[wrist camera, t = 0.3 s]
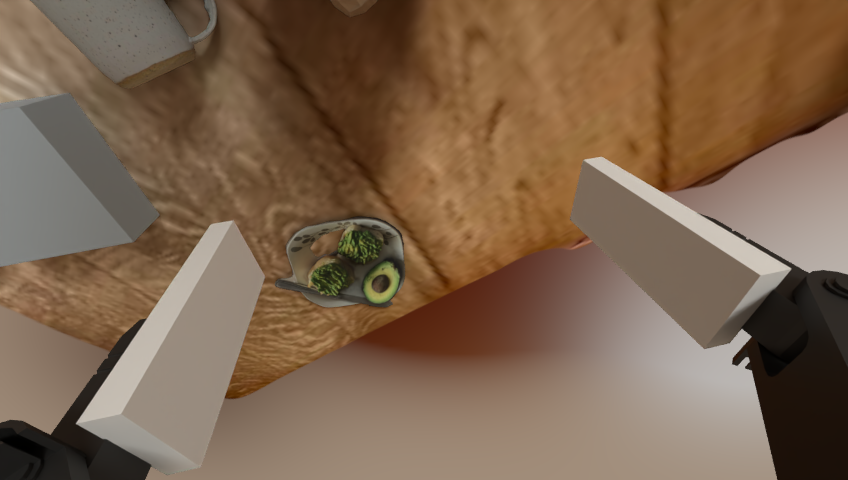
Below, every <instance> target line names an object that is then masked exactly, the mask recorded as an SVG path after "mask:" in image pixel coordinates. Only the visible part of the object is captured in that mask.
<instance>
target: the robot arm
mask: <svg viewBox="0 0 848 480" xmlns="http://www.w3.org/2000/svg"><path fill="white" fill-rule="evenodd" d="M570 220H571V221H572V222H573V223H574V224H575V225H576V226H577V227H578V228H579V229H580V230H582V231H583V232H584V233H585V234H586V235H587V236H588V237H589V238H590V239H591V240H592V241H593V242H594V243H595V244H596V245H597V246H598V247H599V248H600V249H601V250H602V251H603V252H604V253H605V254H606V255H607V256H608V257H609V258H611V259H612V260H613V261H614V262H615V263H616V264H617V265H618V266H619V267H620V268H621V269H622V270H623V271H624V272H625V273H626V274H627V275H628V276H629V277H630V278H631V279H632V280H633V281H634V282H635V283H636V284H637V285H639V287H641V288H642V289H643V290H644V291H645V292H646V293H647V294H648V295H649V296H650V297H651V298H652V299H653V300H654V301H655V302H656V303H657V304H658V305H659V306H660V307H661V308H662V309H663V310H664V311H665V312H667V313H668V315H670V316H671V317H672V318H673V319H674V320H675V321H676V322H677V323H678V324H679V325H680V326H681V327H682V328H683V329H684V330H685V331H686V332H687V333H688V334H689V335H690V336H691V337H692V338H694V340H696V342H697V343H699V344H700V345H701V346H702V347H703V348H704V349H706V348H711V347H715V346H719V345H724V344H727V343H730V342H731V341H732V340H733V338H734V337H735V336H736V335H737V334H738V332H739V331H740V330H741V329H743V330H744V331H746V332H747V333H748V334H750V335H751V336H752V337H751V338H750V340H749V341H748V342H747V343H746V344H745V345H744V346H743V347H742V348H741V350H740V351H739V352H738V353H737V354H736V355H735V356H734V357H733V361H732V364H733V365H736V366H737V365H739V364H740V363H741V361H742V360H743V359H744V358H745V357H749V360H750V362H749V363H748V364H747V366H746V367H745V368H746V369H749V370H752V373H753V377H754V381H755V386H756V390H757V394H758V399H759V402H760V407H761V411H762V415H763V420H764V424H765V429H766V433H767V437H768V441H769V445H770V450H771V454H772V458H773V463H774V467H775V471H776V476H777V480H848V275H847V274H843V273H839V272H833V271H825V270H821V271H812V272H811V273H808V272H806V271H804V270H802V269H800V268H799V267H797V266H795V265H794V264H792V263H790V262H788V261H786V260H785V259H783V258H781V257H779V256H778V255H776V254H774V253H773V252H771V251H769V250H767V249H766V248H764V247H762V246H761V245H759V244H757V243H755V242H753V241H752V240H750V239H749V240H747V239H746V237H745V236H743V235H741V234H740V233H738V232H736V231H732V229H731V228H729V227H727V226H726V225H724V224H722V223H721V222H719V221H717V220H715V219H713V218H710V217H708V216H704V215H702V214H699V213H696V212H695V211H693V210H691V209H689V208H688V207H686V206H684V205H683V204H681V203H679V202H677V201H676V200H674V199H672V198H671V197H669V196H667V195H666V194H664V193H662V192H661V191H659V190H657V189H655V188H654V187H652V186H650V185H649V184H647V183H645V182H644V181H642V180H640V179H638V178H637V177H635V176H633V175H632V174H630V173H628V172H627V171H625V170H623V169H621V168H620V167H618V166H616V165H615V164H613V163H611V162H610V161H608V160H606V159H604V158H603V157H598V158H592V159H586V160H583V163H582V168H581V172H580V177H579V181H578V185H577V190H576V194H575V199H574V203H573V208H572V212H571V217H570ZM264 279H265V276H264V274H263V272H262V270H261V268H260V267H259V265H258V263H257V261H256V260H255V258H254V256H253V254H252V252H251V251H250V249H249V247H248V245H247V244H246V242H245V240H244V238H243V236H242V235H241V233H240V231H239V229H238V227H237V226H236V224H235V222H234V220H232V221H227V222H221V223H215V224H211V225H210V226H209V228H208V229H207V231H206V232H205V234H204V235H203V237H202V238H201V240H200V241H199V243H198V244H197V245H196V247H195V248H194V250H193V251H192V253H191V254H190V256H189V257H188V259H187V260H186V262H185V263H184V265H183V266H182V268H181V269H180V271H179V272H178V274H177V275H176V277H175V278H174V279H173V281H172V282H171V284H170V285H169V287H168V288H167V290H166V291H165V293H164V294H163V296H162V297H161V299H160V300H159V302H158V303H157V305H156V306H155V308H154V309H153V311H152V312H151V313H150V315H149V316H148V318H147V319H142V320H139V321H138V322H137V323H136V324H135V325H134V326H133V327H132V328H130V329H129V330H128V331H127V332H126V333H125V334H124V335H123V336H122V337H121V338H120V339H119V340H118V342H117V343H116V345H115V346H114V347H113V349H112V350H111V352H110V353H109V354H108V359H105V360H104V361H103V363H102V364H101V366H100V367H99V368H98V370H97V374H96V375H93V377H92V378H91V379H90V381H89V382H88V384H87V385H86V387H85V388H84V389H83V391H82V392H81V393H80V395H79V396H78V398H77V399H76V400H75V402H74V403H73V405H72V406H71V407H70V409H69V410H68V411H67V413H66V414H65V416H64V417H63V418H62V420H61V421H60V423H59V424H58V425H57V427H56V428H55V429H54V431H53V432H52V434H51V435H49V434H47V433H45V432H43V431H41V430H39V429H37V428H35V427H33V426H31V425H30V424H28V423H26V422H23V421H18V420H9V421H6V422H2V423H0V480H145V479H146V476H147V474H148V472H149V470H150V467H153V468H155V469H157V470H159V471H160V472H162V473H164V474H166V475H170V474H174V473H178V472H182V471H186V470H191V469H195V468H199V467H201V465H202V462H203V459H204V456H205V453H206V450H207V447H208V445H209V441H210V439H211V436H212V433H213V430H214V427H215V424H216V421H217V418H218V415H219V412H220V409H221V406H222V403H223V400H224V397H225V394H226V391H227V388H228V385H229V382H230V379H231V377H232V374H233V371H234V368H235V365H236V362H237V359H238V356H239V353H240V350H241V347H242V344H243V341H244V338H245V335H246V332H247V329H248V326H249V323H250V320H251V317H252V314H253V311H254V308H255V305H256V303H257V300H258V297H259V294H260V291H261V288H262V285H263V282H264Z"/></svg>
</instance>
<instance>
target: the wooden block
mask: <svg viewBox="0 0 848 480" xmlns="http://www.w3.org/2000/svg"><path fill="white" fill-rule="evenodd" d="M330 1H331V2H332V4H333V5H334V7H336V8H337V9H339V10H340V11H341V12H343V13H344V14H346V15H347V16H349V17H352V16H356V15H359V14H363V13H365V12H366V11H367V10H368V9H369V8H371V7H372V6H373V5H374V4H375V3H376V2H377V1H378V0H330Z"/></svg>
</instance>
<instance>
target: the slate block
mask: <svg viewBox="0 0 848 480" xmlns="http://www.w3.org/2000/svg"><path fill="white" fill-rule="evenodd" d="M158 217H159V213H158V212H157V211H156V209H155V208H154V206H153V205H152V204H151V202H150V201H149V200H148V198H147V197H146V196H145V194H144V193H143V192H142V190H141V189H140V188H139V186H138V185H137V183H136V182H135V181H134V179H133V178H132V177H131V175H130V174H129V173H128V171H127V170H126V169H125V167H124V166H123V165H122V163H121V162H120V160H119V159H118V158H117V156H116V155H115V154H114V152H113V151H112V150H111V148H110V147H109V146H108V144H107V143H106V142H105V140H104V139H103V137H102V136H101V135H100V133H99V132H98V131H97V129H96V128H95V127H94V125H93V124H92V123H91V121H90V120H89V119H88V117H87V116H86V114H85V113H84V112H83V110H82V109H81V108H80V106H79V105H78V104H77V102H76V101H75V100H74V98H73V97H72V96H71V94H70V93H66V94H59V95H52V96H45V97H38V98H32V99H25V100H18V101H11V102H5V103H0V267H2V266H7V265H12V264H18V263H23V262H29V261H34V260H39V259H45V258H50V257H56V256H61V255H66V254H72V253H77V252H83V251H88V250H94V249H99V248H104V247H110V246H115V245H121V244H126V243H131V242H134V241H135V240H136V239H137V238H138V237H139V236H140V235H141V234H142V233H143V232H144V231H145V230H146V229H147V228H148V227H149V226H150V225H151V224H152V223H153V222H154V221H155V220H156V219H157V218H158Z"/></svg>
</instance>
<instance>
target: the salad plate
mask: <svg viewBox="0 0 848 480" xmlns="http://www.w3.org/2000/svg"><path fill="white" fill-rule="evenodd" d="M342 229H346V230H345V231H344V232H343V234H342V237H341V239H340V242H339V246H338V250H336V251H334V252H333V253H331V254H329V255H326V254H324V255H322V256H321V257H317V256H315V255H314V253H313V252H312V250H311V249H310V247H311V246H312V244H313V243H314V242H315V241H316V240H317V239H319V238H320V237H321V236H323V235H325V234H328V233H329V232H332V231H337V230H342ZM403 245H404V243H403V240H402V235H401V233H400V231H399V230H397V229H396V228H395V227H394V226H392V225H391V224H389V223H387V222H386V221H383V220H381V219H378V218H371V217H352V218H350V219H346V220H339V221H329V222H324V223H321V224H316V225H313V226H306V227H304V228H302V229H301V230H299V231H298V232H296V233H294V235H293V236H292V237H291V238H290V240H289V241H288V243H287V244H286V252H287V255H288V258H289V262H290V264H291V267H292V270H293V275H292V276H291V277H289V278H281V279H278V280H276V282H275V286H276V287H279V288H282V289H288V290H293V291H299V292H302V293H303V294H304V296H305V297H306V298H307V299H308V300H310V301H312V302H313V303H316V304H318V305H320V306H323V307H340V306H347V305H353V304H359V303H362V304H368V305H369V306H376V307H388V306H390V305H392V304H393V303H392V302H391V299H392V298H393V296H394V295H395V294H396V293H397V292H398V291H399V290H400V289H401V287H402V285H403V282H404V279H405V264H404V253H403Z"/></svg>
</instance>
